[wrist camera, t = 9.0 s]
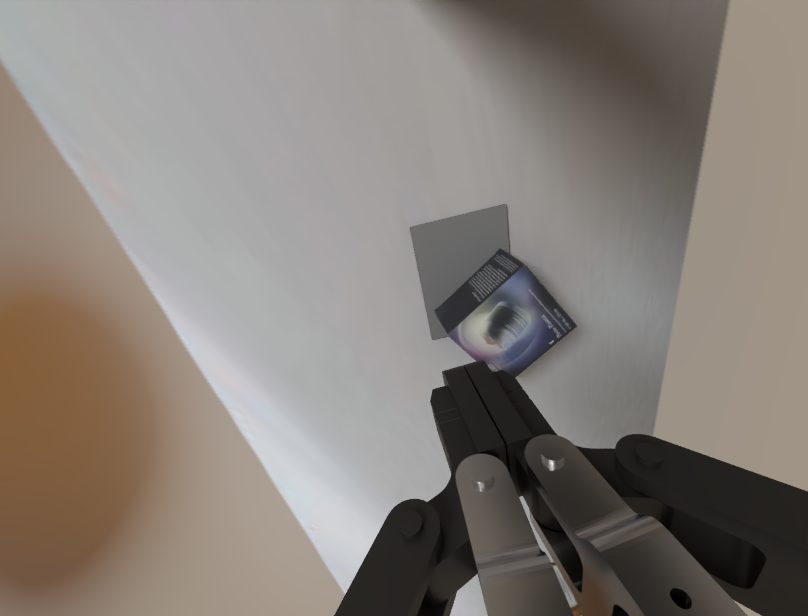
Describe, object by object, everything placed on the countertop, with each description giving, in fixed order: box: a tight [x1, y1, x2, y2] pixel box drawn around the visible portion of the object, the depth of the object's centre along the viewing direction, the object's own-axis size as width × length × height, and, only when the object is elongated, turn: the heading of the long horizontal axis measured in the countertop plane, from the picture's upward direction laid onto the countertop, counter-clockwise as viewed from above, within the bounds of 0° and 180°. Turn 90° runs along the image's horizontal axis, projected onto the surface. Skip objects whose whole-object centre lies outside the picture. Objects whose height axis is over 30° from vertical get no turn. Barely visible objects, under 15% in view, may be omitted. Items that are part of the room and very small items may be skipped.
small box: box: [434, 248, 577, 377], centre depth 38 cm, size 11×6×10 cm
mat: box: [410, 204, 510, 340], centre depth 39 cm, size 14×10×1 cm
